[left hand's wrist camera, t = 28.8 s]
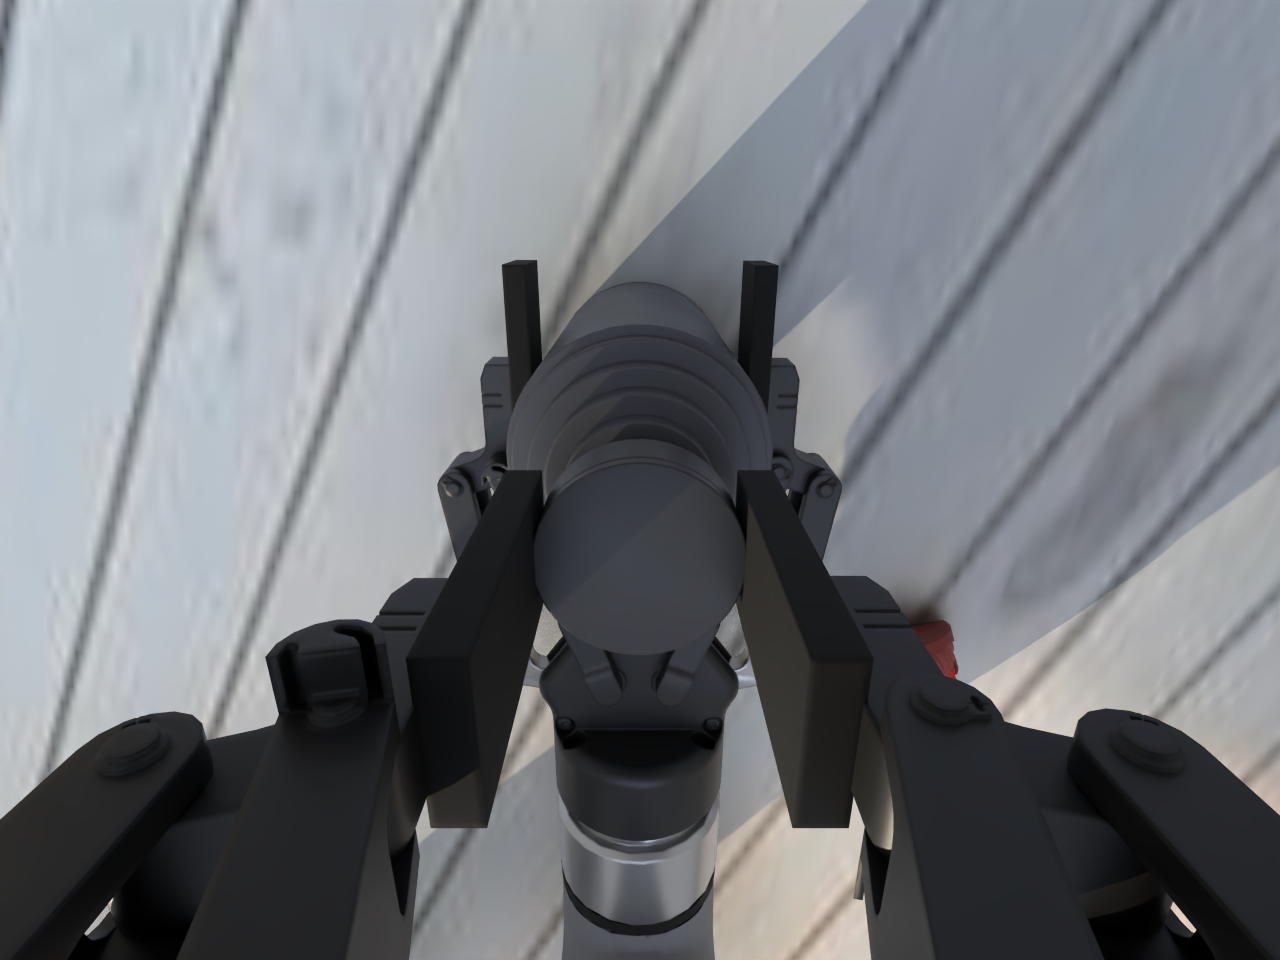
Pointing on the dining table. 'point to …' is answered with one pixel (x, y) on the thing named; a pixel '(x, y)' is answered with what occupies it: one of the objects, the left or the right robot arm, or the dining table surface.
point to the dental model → (939, 645)
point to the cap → (639, 548)
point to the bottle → (639, 388)
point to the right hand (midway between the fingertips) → (640, 263)
